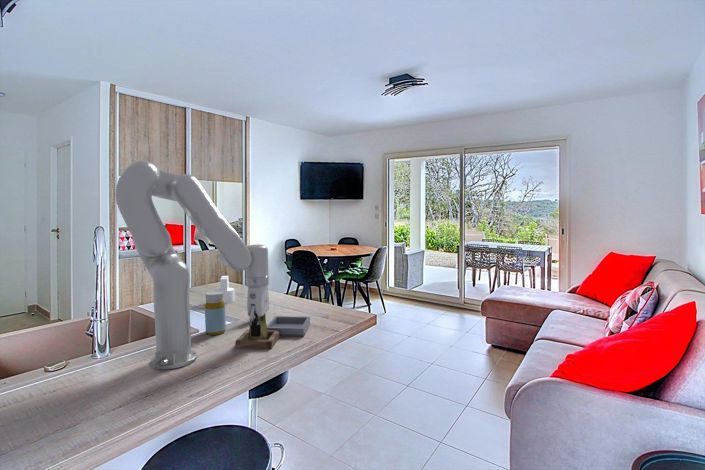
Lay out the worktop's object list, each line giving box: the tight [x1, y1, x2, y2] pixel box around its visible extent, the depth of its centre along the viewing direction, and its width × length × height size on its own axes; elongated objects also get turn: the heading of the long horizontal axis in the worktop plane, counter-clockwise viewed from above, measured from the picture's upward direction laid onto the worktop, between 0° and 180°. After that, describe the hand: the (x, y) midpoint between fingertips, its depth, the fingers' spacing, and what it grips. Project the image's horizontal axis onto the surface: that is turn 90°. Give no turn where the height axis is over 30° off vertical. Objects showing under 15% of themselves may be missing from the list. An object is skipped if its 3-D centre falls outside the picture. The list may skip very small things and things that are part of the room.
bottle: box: [204, 290, 227, 336], centre depth 135 cm, size 7×7×15 cm
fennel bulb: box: [248, 311, 268, 340], centre depth 125 cm, size 6×5×12 cm
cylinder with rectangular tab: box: [214, 275, 236, 304], centre depth 179 cm, size 9×9×12 cm
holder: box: [235, 329, 281, 350], centre depth 126 cm, size 11×12×2 cm
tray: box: [266, 315, 311, 338], centre depth 138 cm, size 14×14×3 cm
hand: (258, 332), depth 125 cm, fingers closed on fennel bulb, 4 cm apart
